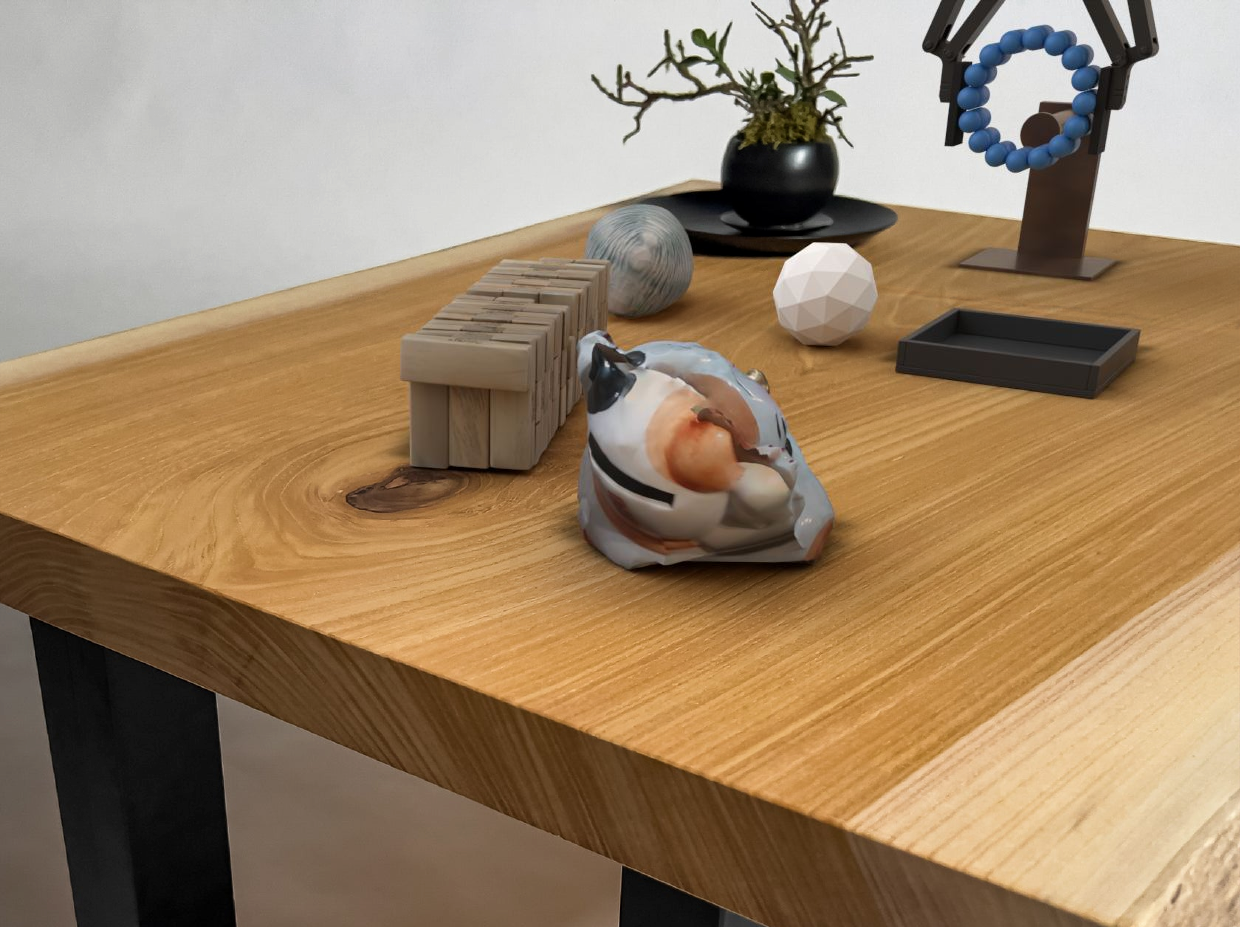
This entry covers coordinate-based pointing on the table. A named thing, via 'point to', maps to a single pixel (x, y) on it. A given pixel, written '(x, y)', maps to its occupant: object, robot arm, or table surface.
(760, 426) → the lucky cat figurine
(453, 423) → the block tower
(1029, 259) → the bracelet rack
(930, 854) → the table surface
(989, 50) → the blue beaded bracelet
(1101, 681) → the table surface
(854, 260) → the geometric ball
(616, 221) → the grey streaked rounded piece
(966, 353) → the tray
